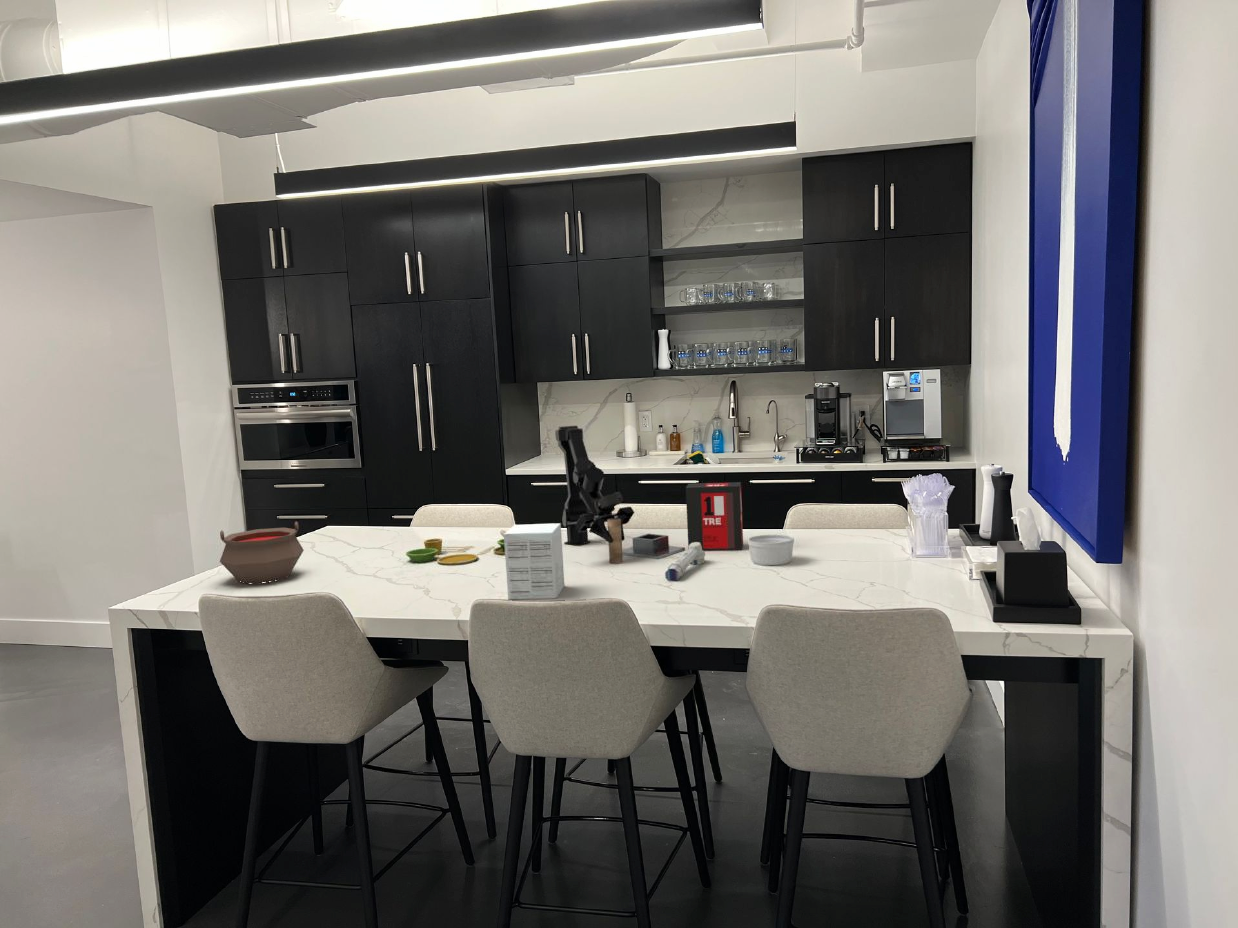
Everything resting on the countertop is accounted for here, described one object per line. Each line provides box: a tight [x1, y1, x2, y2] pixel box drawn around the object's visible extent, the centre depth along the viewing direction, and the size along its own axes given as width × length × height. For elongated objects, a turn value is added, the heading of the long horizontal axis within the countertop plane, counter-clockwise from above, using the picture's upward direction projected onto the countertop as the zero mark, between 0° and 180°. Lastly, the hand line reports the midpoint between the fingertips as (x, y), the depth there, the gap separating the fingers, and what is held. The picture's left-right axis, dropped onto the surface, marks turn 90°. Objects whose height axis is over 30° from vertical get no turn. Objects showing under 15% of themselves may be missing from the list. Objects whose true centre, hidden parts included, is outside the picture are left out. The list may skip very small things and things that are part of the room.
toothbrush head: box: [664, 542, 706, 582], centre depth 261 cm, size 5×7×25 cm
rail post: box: [606, 518, 624, 565], centre depth 276 cm, size 4×4×13 cm
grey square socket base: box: [622, 533, 686, 560], centre depth 288 cm, size 16×14×5 cm
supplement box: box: [503, 522, 566, 600], centre depth 244 cm, size 13×13×18 cm
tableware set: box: [405, 529, 507, 566], centre depth 296 cm, size 41×28×6 cm
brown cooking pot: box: [219, 521, 305, 584], centre depth 279 cm, size 24×24×16 cm
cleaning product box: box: [685, 481, 744, 552], centre depth 288 cm, size 16×9×20 cm, turn 80°
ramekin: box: [747, 533, 795, 566], centre depth 266 cm, size 13×13×7 cm
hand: (617, 541), depth 275 cm, fingers closed on rail post, 4 cm apart
